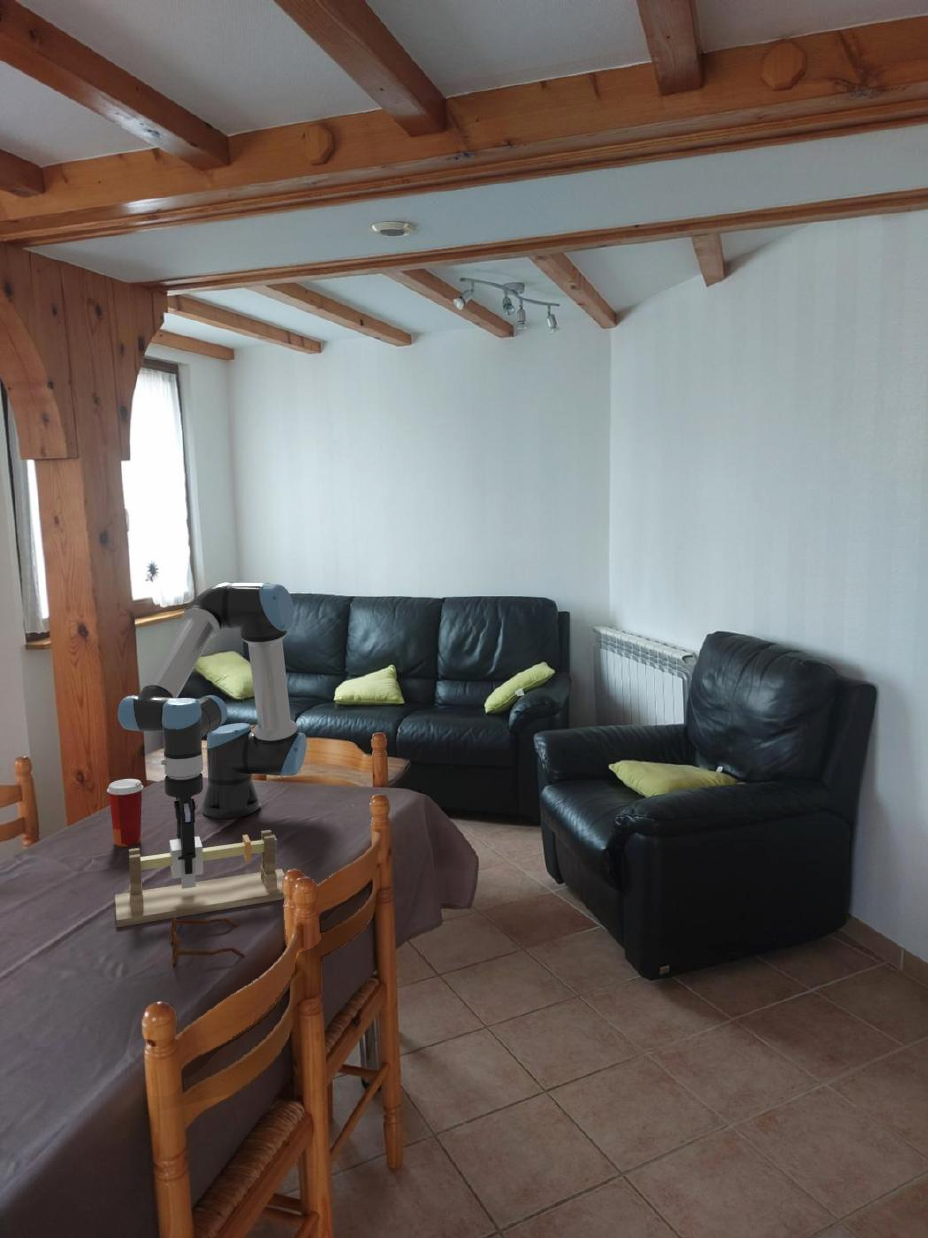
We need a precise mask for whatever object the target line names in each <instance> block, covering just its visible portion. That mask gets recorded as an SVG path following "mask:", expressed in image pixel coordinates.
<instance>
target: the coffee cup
mask: <svg viewBox="0 0 928 1238" xmlns="http://www.w3.org/2000/svg"><path fill="white" fill-rule="evenodd" d="M143 789H144V785H143V784H142V782H141V780H139V779H135V778H124V779H119V780H118V779H117V780H115V781H113V782H111V783H110V784H108V788H107V789H106V792H107V793H108V798H109V806H110V814H111V815H110V816H111V817H110V818H111V824H112V833H113V841H114V845H115V846H117V847H122V848H123V847H125V848H126V847H132V846H135V845H137V844H139V843H141V835H142V803H143V802H142V799H143V798H142V797H143V796H142V793H143Z"/></svg>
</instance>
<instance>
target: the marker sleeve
mask: <svg viewBox="0 0 928 1238" xmlns="http://www.w3.org/2000/svg"><path fill="white" fill-rule="evenodd" d="M202 848H203V843H202V842H201V837H200V836H199V835H198V836H195V854H196V857H195V876H198V875H199V876H200V875H204V861H203V849H202ZM169 853H171V855H172V866H169V867H170V871H171V876H172V879H174V880H175V879H180V878H181V860H178V857H180V856H181V855H182V852H181V839H178V838H176V839H169Z"/></svg>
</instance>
